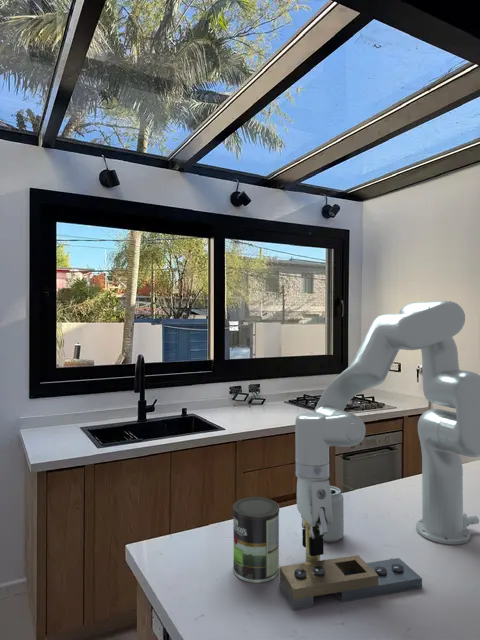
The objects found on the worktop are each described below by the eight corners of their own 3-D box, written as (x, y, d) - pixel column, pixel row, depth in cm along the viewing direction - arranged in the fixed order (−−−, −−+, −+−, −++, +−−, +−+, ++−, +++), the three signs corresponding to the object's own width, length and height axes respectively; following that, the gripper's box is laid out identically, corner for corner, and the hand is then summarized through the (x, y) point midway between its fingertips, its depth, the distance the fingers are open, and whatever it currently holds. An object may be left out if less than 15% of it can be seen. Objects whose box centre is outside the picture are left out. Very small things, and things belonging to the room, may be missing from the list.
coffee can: (244, 588, 91) (244, 519, 91) (226, 563, 101) (225, 501, 101) (288, 576, 95) (288, 511, 95) (266, 553, 105) (266, 493, 105)
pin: (317, 557, 103) (317, 514, 103) (325, 567, 99) (325, 522, 99) (300, 560, 102) (300, 516, 102) (307, 570, 98) (307, 524, 98)
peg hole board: (399, 567, 99) (398, 546, 99) (422, 588, 91) (421, 565, 91) (279, 585, 92) (279, 563, 92) (293, 610, 84) (293, 586, 84)
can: (344, 544, 109) (343, 495, 109) (313, 541, 110) (312, 493, 110) (343, 530, 116) (342, 484, 116) (314, 528, 117) (313, 482, 117)
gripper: (344, 480, 93) (345, 567, 93) (313, 456, 109) (313, 531, 109) (311, 483, 91) (311, 572, 91) (284, 459, 107) (284, 535, 107)
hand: (312, 549), depth 100 cm, fingers closed on pin, 3 cm apart
